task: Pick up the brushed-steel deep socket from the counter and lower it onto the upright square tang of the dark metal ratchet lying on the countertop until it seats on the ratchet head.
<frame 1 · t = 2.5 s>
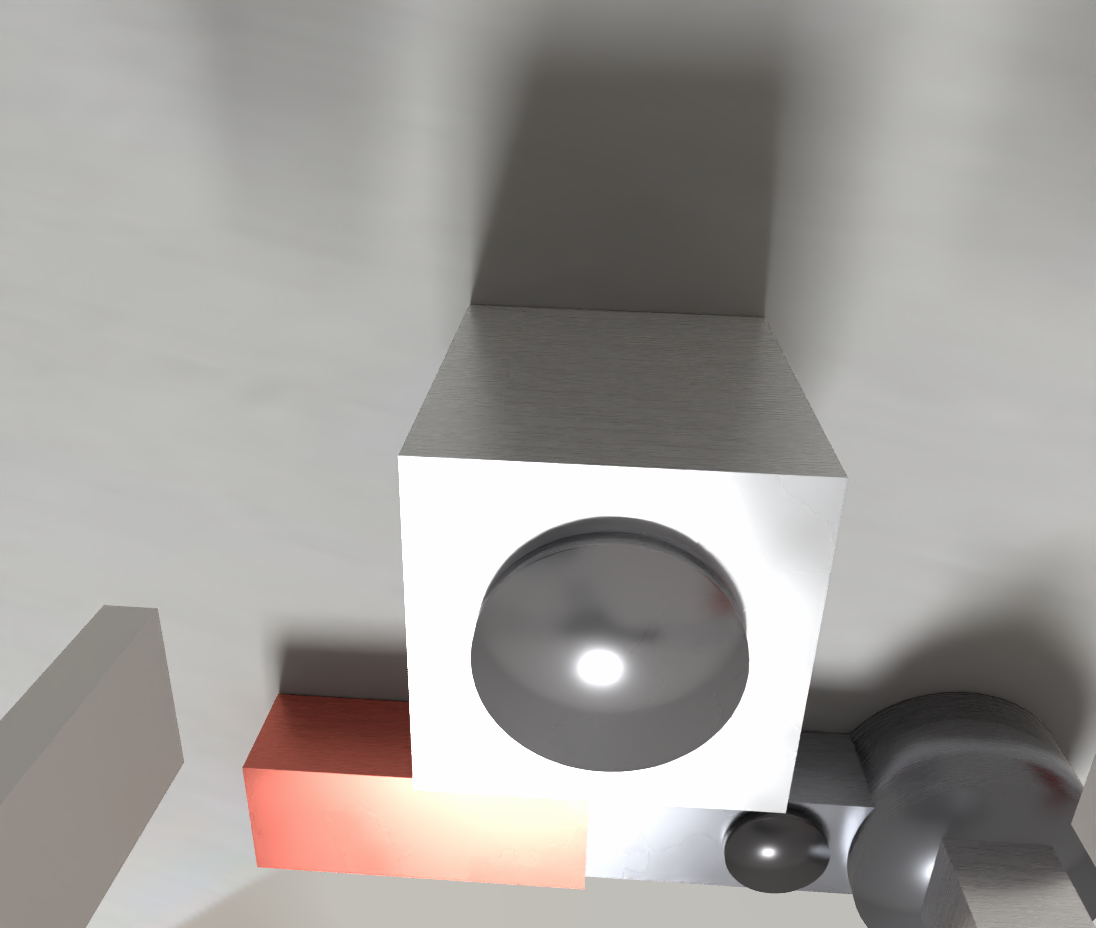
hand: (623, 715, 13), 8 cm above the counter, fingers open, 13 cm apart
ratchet: (941, 783, 24), on the counter
socket: (608, 445, 20), on the counter
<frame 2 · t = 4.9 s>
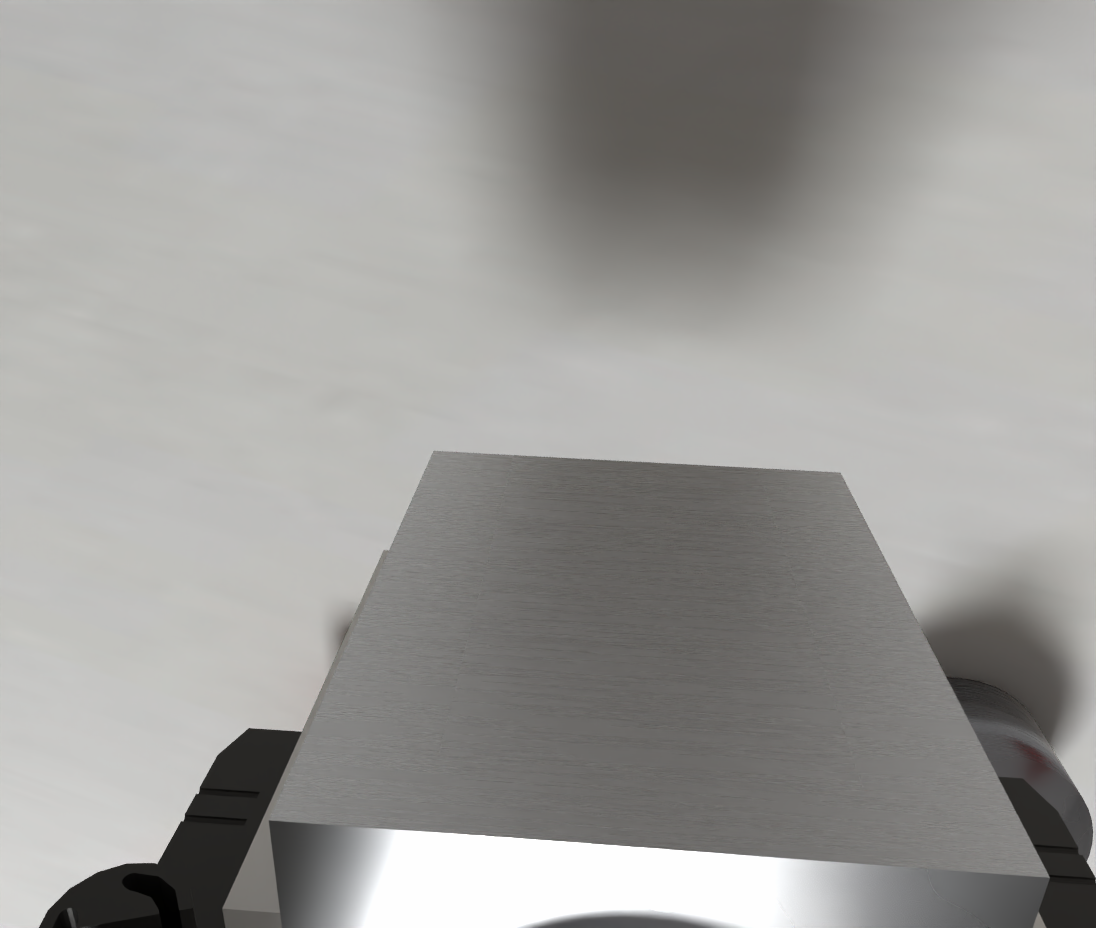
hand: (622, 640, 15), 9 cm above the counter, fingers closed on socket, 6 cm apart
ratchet: (934, 763, 26), on the counter
socket: (622, 631, 15), point 9 cm above the counter, touching gripper
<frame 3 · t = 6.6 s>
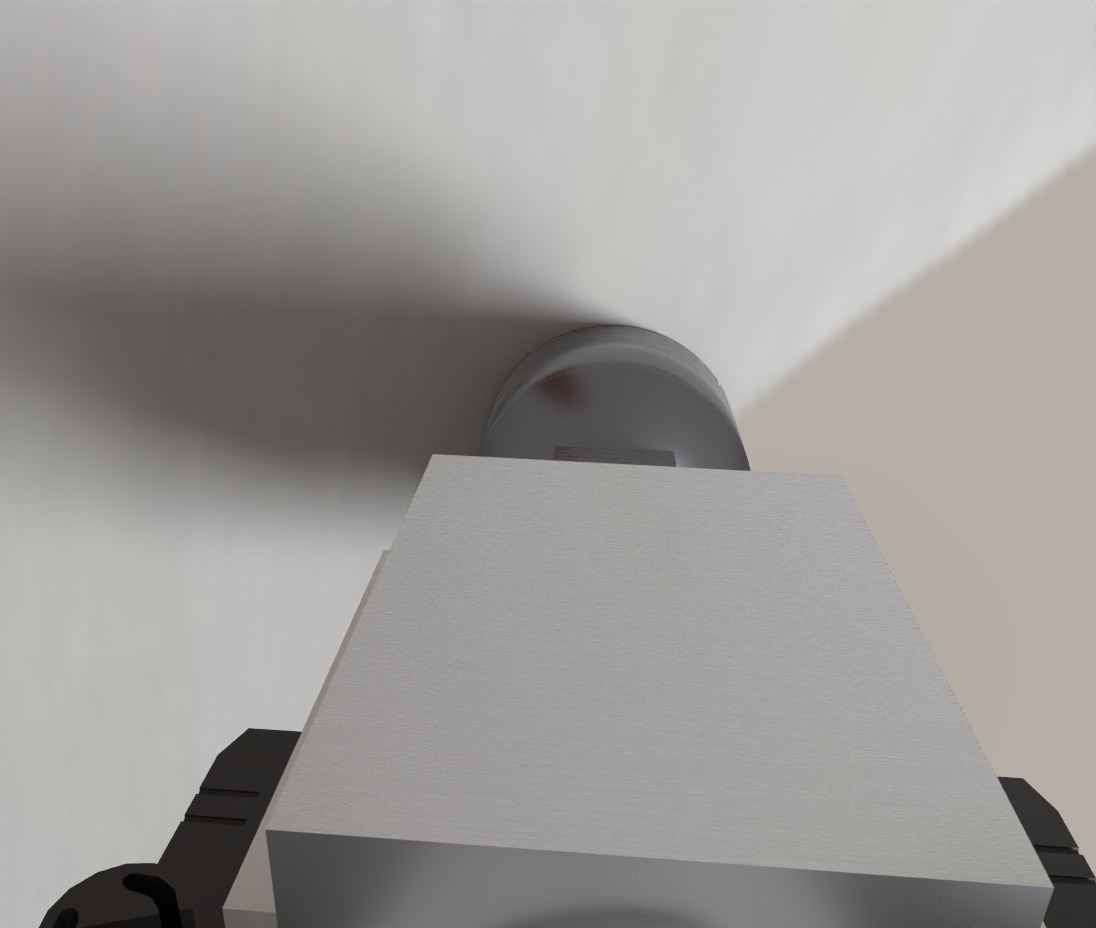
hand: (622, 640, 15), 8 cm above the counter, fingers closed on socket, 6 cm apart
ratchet: (610, 444, 22), on the counter
socket: (622, 635, 15), point 8 cm above the counter, touching gripper
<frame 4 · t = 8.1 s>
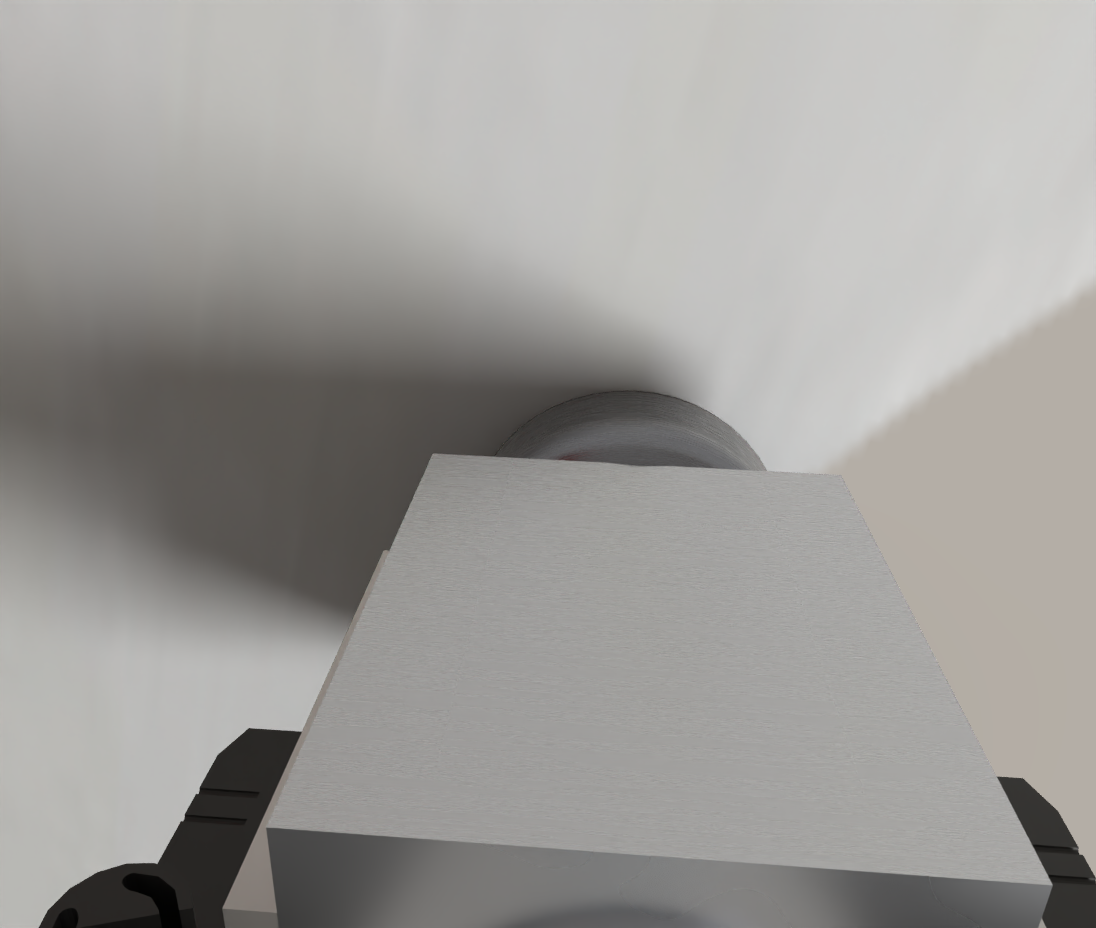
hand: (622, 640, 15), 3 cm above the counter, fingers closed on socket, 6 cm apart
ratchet: (624, 535, 18), on the counter
socket: (622, 634, 15), point 3 cm above the counter, touching gripper
when the fingers open (3 cm above the counter, at t = 8.5 s): socket stays where it is, resting on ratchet.
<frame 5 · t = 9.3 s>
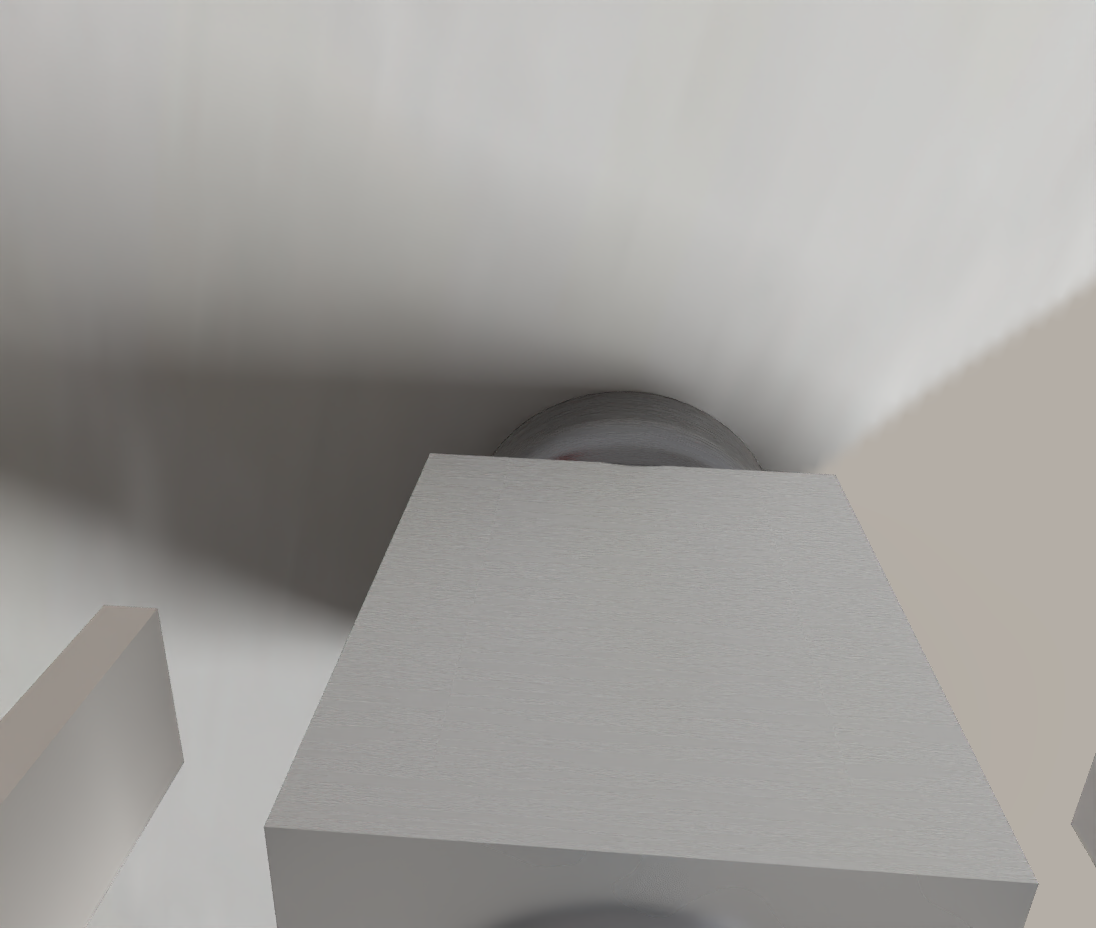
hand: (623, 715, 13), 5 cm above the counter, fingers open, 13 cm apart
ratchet: (621, 535, 18), on the counter
socket: (618, 632, 15), point 3 cm above the counter, touching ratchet
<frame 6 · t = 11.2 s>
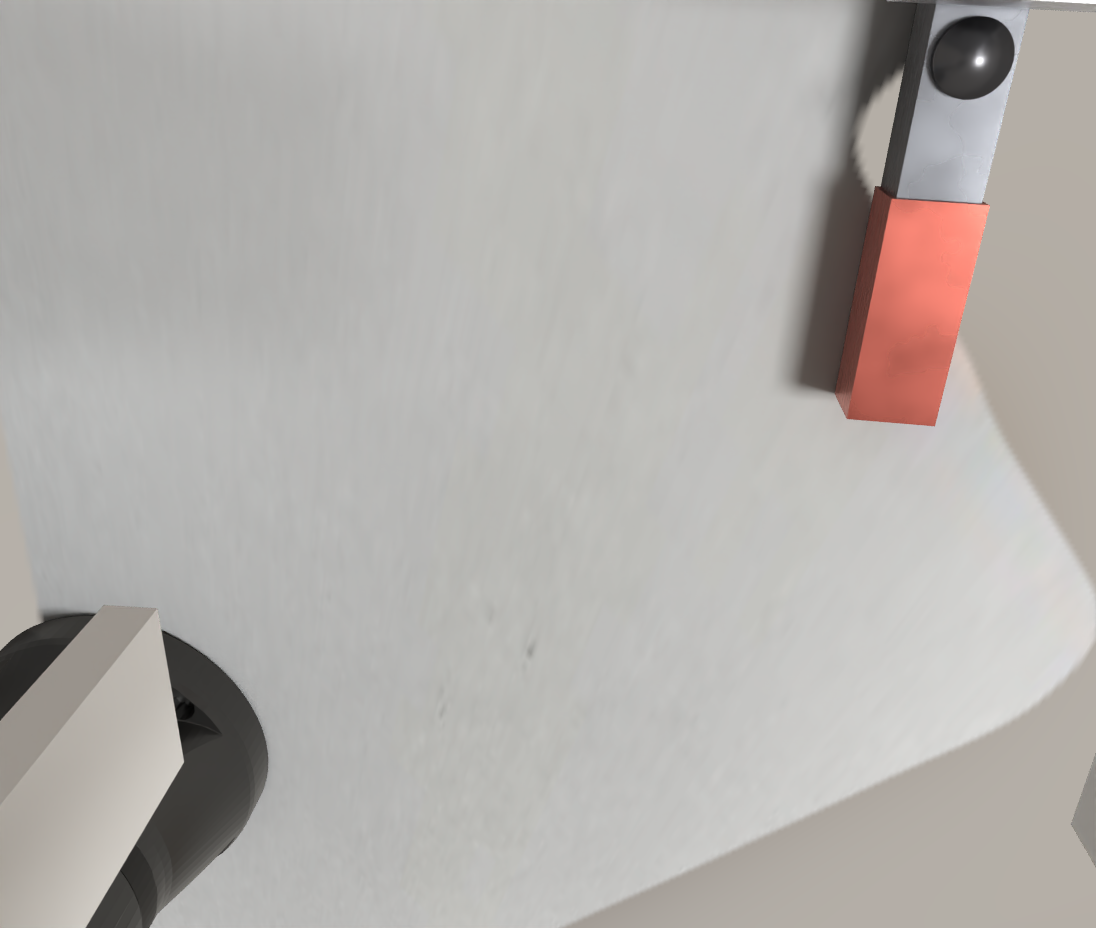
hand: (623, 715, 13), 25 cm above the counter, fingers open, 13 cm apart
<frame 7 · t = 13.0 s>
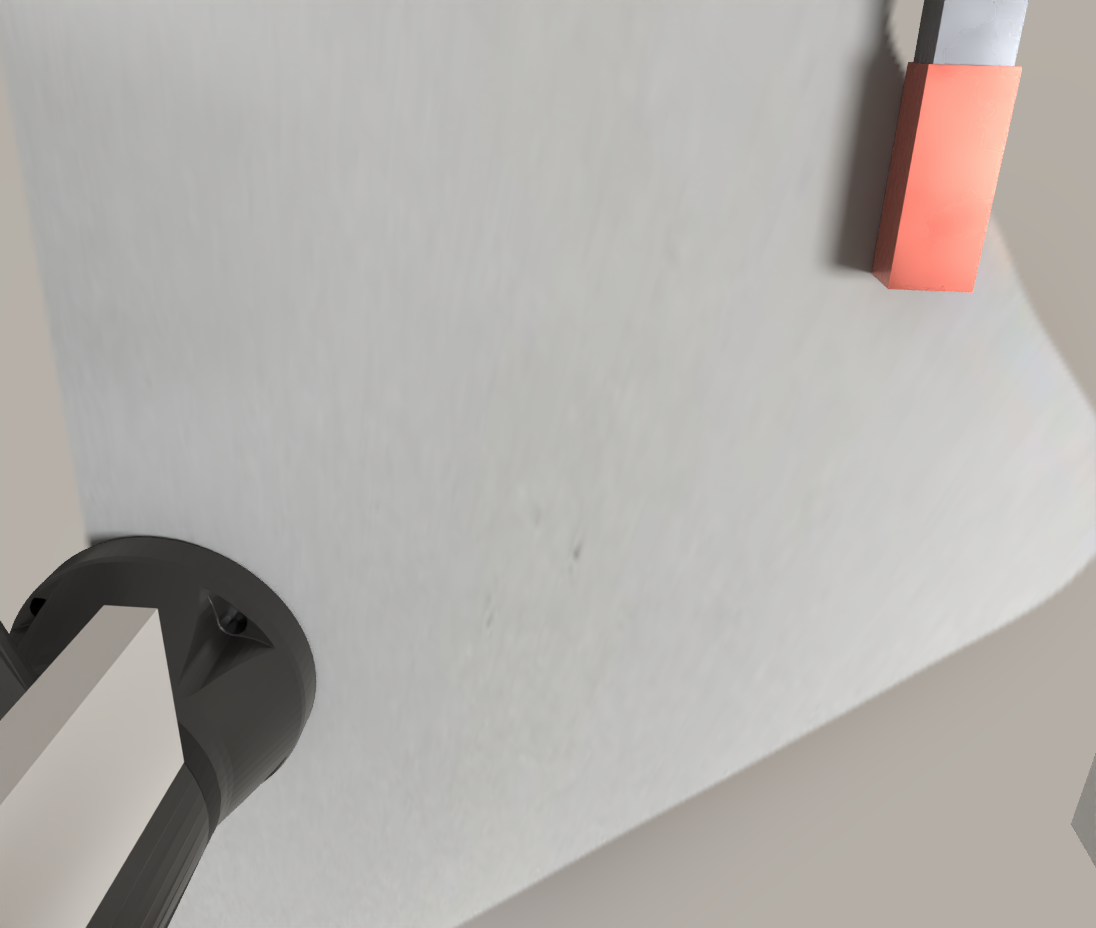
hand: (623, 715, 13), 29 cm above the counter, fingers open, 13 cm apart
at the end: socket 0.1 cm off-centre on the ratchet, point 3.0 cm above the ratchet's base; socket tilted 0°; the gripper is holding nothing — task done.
